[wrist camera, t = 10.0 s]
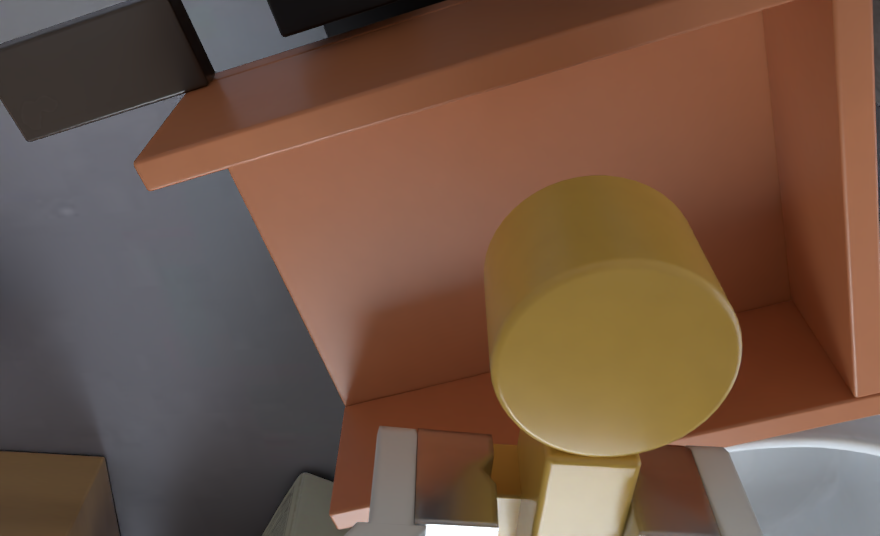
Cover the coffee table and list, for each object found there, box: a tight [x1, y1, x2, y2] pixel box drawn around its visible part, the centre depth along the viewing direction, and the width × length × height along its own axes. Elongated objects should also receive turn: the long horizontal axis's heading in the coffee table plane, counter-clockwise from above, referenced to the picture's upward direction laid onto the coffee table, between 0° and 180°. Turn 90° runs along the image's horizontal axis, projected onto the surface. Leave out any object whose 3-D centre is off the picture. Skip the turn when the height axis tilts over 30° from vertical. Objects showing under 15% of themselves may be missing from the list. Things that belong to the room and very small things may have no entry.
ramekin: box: [725, 414, 880, 536], centre depth 23 cm, size 13×13×7 cm
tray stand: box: [267, 0, 446, 38], centre depth 17 cm, size 10×9×6 cm
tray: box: [0, 0, 880, 530], centre depth 14 cm, size 10×13×4 cm
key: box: [484, 175, 743, 536], centre depth 10 cm, size 6×3×2 cm, turn 176°
